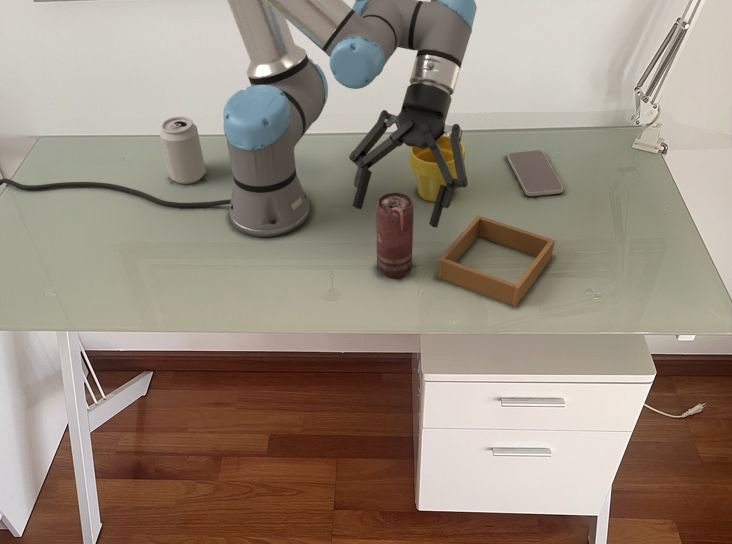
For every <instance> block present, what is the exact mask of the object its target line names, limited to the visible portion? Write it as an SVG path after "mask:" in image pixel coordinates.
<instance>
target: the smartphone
mask: <svg viewBox="0 0 732 544" xmlns="http://www.w3.org/2000/svg"><path fill="white" fill-rule="evenodd" d="M506 158H507V161H508V162H509V163H508V164H509V165H510V167H511V169H512V170H513V173H514V174H515V177H516V178H517V181H518V182H519V184H520V187H521V188H522V190H523V193H524V194H525V195H526V196H529V197H537V196H546V195H556V194H561V193H562V192H563V190H564V186H563V184H562V182H561V180H560V178H559V177H558V176H557V174H556V172H555V170H554V168H553V167H552V165H551V163H550V162H549V159H548V158H547V156H546V155H545V152H544V151H543V150H540V149H533V150H532V149H531V150H522V151H511V152H508V154H507V157H506Z"/></svg>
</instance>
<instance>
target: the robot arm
mask: <svg viewBox="0 0 732 544" xmlns="http://www.w3.org/2000/svg"><path fill="white" fill-rule="evenodd" d="M226 1H227V4H228V6H229V9H230V11H231V14H232V17H233V19H234V21H235V24H236V27H237V29H238V32H239V35H240V38H241V40H242V42H243V45H244V47H245V50H246V53H247V56H248V58H249V61H250V62H249V65H248V67H247V70H246V76H247V79H248V80H249V83H250V86H247V87H246V89H240V90H238V91H236V92H234V94H232V95H231V96H230V97H229V98H228V99H227V101H226V102H225V105H224V108H223V113H222V117H223V133H224V135H225V138H226V145H227V149H228V155H229V159H230V160H229V161H230V166H231V172H232V177H233V186H232V187H233V188H232V192H231V197H230V199H220V200H214V201H202V202H201V201H199V202H198V201H197V202H176V201H167V200H163V199H160V198H157V197H155V196H152V195H151V194H148V193H146V192H143V191H141V190H137V189H135V188H130V187H127V186H122V185H119V184H115V183H109V182H108V183H107V182H99V181H98V182H97V181H65V182H53V183H45V184H31V185H30V184H29V185H28V184H22V183H19V182H17V181H15V180H12V179H9V178H0V186H2V185H3V184H8V185H10V186H13V187H15V188H17V189H21V190H27V191H36V190H37V191H38V190H47V189H54V188H55V189H56V188H68V187H69V188H71V187H91V188H92V187H94V188H105V189H111V190H117V191H121V192H125V193H128V194H130V195H131V194H132V195H134V196H139V197H142V198H143V199H146V200H147V201H150V202H152V203H155V204H157V205H161V206H166V207H172V208H207V207H208V208H209V207H217V206H224V205H225V206H226V205H229V216H230V221H231V223H232V225H233V226H234V228H236V229H237V230H238V231H239V232H241V233H243V234H246V235H248V236H253V237H258V238H272V237H278V236H283V235H286V234H288V233H291V232H293V231H295V230H297V229H298V228H300V227H301V226H303V224H304V223H306V221H307V220H308V218H309V216H310V201H309V198H308V195H307V193H306V191H305V190H304V189H303V185H302V183H301V181H300V179H299V177H298V175H297V167H296V157H295V149H296V145H297V144H298V143H299V142H300V141H301V139H302V138H303V137H304V135H305V134H306V133H307V131H308V130H309V129H310V128H311V126H312V125H313V124H314V123H315V122H316V121H317V120H318V119H319V117H320V116H321V114H322V112H323V110H324V108H325V106H326V104H327V101H328V97H329V86H328V85H329V84H328V81H327V78H326V75H325V72H324V71H323V69H322V68H321V66H319V64H318V63H317V64H316V63H315V62H314V60H313V59H311V58H310V57H309V56H308V54H307V51H306V49H305V48H304V47H301V46H299V45H297V44H295V41H294V37H293V35H292V32H291V29H290V26H289V24H288V22H289V23H291V25H293V27H295V28H296V29H297V30H298V31H299V32H301V33H302V34H303V35H304V36H305V37H306V38H308V39H309V40H310V41H311V42H312V43H313V44H315V46H316V47H318V48H319V49H320V50H321V51H322V52H324V53H325V54H326V55H327V57H329V68H330V71H331V74H332V75H333V77H334V80H336V81H337V82H338V83H339V84H340V85H342V86H343V87H345V88H348V89H351V90H360V89H364V88H366V87H367V86H369V85H370V84H371V83H372V82H373V81H374V80H375V79H376V78H377V77H378V76H380V74H381V73H382V72H383V70H384V67H385V66H386V64H387V63H388V61H389V60H390V58H391V57H392V56H393V55H394V53H395V52H396V50H397V49H398V48H400V49H405V50H410V51H417V52H416V56H415V58H414V63H413V66H412V70H411V74H410V78H409V81H408V82H409V85H408V86H407V87H406V91H405V94H404V98H403V102H402V105H401V109H400V112H399V114H398V115H395V114H392V113H389V112H388V110H386V109H383V110H381V112H380V114H379V116H378V119H377V121H376V123H375V124H374V125H373V126H372V128H371V129H370V130H369V131H368V133H366V135H365V136H364V137H363V138H362V140H360V142H359V143H358V144H357V146H356V147H355V148H354V150H353V151H352V152H351V153H350V154H349V160H350V161H351V162H352V163H353V164H354V165H356V167H357V169H356V173H355V176H354V180H353V186H354V187H355V188H356V191H355V193H354V199H353V202H352V207H354V208H355V209H357V210H362V209H363V206H364V202H365V198H366V195H367V191H368V189H369V185H370V181H371V177H372V173H373V172H372V171H371V169H370V168H371V167H373V166H374V165H376V164H377V163H378V162H379V161H381V160H382V159H383V158H385V157H386V156H388V154H390V153H391V152H392V151H394V150H395V149H397V148H398V147H401V146H402V145H403V144H405V145H406V146H407V147H414V146H417V147H419V148H420V149H425V148H428V147H429V148H430V150H431V152H432V154H433V156H434V158H435V160H436V163H437V165H438V167H439V169H440V171H441V174H442V176H443V178H444V180H445V183H446V186H445V185H441V184H440V188H439V191H438V195H437V198H436V202H434V205H433V208H432V212H431V215H430V219H429V226H431V227H432V228H434V229H435V228H438V226H439V223H440V219H441V217H442V216H441V215H442V213H443V208H444V209H448V208H449V207H450V206H451V202H452V199H453V196H454V192H455V191H456V189H460V188H462V189H464V188H467V187H468V185H469V182H468V181H469V180H468V175H467V171H466V165H465V161H464V159H463V154H462V148H461V142H462V137H463V129H462V128H461V126H460V125H459V124H458V123H454V124H453V125H447V124H446V120H447V117H448V113H449V111H450V107H451V103H452V101H453V100H452V95H454V92H455V89H456V87H457V82H458V78H459V75H460V72H461V67H462V64H463V61H464V57H465V55H466V52H467V47H468V45H469V42H470V38H471V35H472V33H473V27H474V21H475V18H476V12H477V9H478V8H477V6H478V5H477V3H476V0H430V1H426V0H424V1H422V0H355V1H354V3H353V5H352V7H351V6H349V5H348V4H347V2H345V1H344V0H226ZM394 124H395V126H396V128H397V129H396V130H394V131H393V132H391V134H389V136H388V137H387V138H386V139H385V140H384V141H383V142H381V143H380V144H378V145H377V146H376V147H374V146H375V145H376V144H377V143H378V142H379V140H380V139H381V138H382V137H383V136H384V134H385V133H386V132H387V131H388V128H391V127H392V126H393V125H394ZM445 134H446V135H447V137H448V138H449V139H450V140H451V146H452V152H453V158H454V163H455V169H456V174H457V178H456V179H453V177H452V174H451V172H450V170H449V168H448V166H447V163H446V161H445V159H444V157H443V155H442V152H441V150H440V147H439V145H438V143H437V140H438V139H439V138H440V137H441V136H442V135H445Z"/></svg>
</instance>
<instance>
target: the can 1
mask: <svg viewBox="0 0 732 544" xmlns="http://www.w3.org/2000/svg"><path fill="white" fill-rule="evenodd" d="M160 127H161V129H160V131H159V139H160V143H161V146H162V150H163V154H164V158H165V162H166V163H165V164H166V167H167V172H168V175H169V178H170V179H171V180H172V181H174V182H176V183H178V184H181V185H191V184H193V183H196V182H198V181H200V180H201V179H202V178H203V176H204V175H205V174H206V172H207V169H206V165H205V159H204V155H203V150H202V145H201V140H200V135H199V130H198V126H197V125H196V124H195V123H194V122H193V120H192V118H190V117H187V116H173V117H170V118H168V119H166V120H164V121H163V122H162V123H161V125H160Z"/></svg>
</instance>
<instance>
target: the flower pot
mask: <svg viewBox="0 0 732 544" xmlns="http://www.w3.org/2000/svg"><path fill="white" fill-rule="evenodd" d="M437 143H438V145H439V147H440V150H441V152H442V155H443V157H444V159H445V161H446V163H447V166H448V168H449V170H450V172H451V174H452V177H453V179H456V178H457V174H456V169H455V163H454V158H453V152H452V146H451V140H450V139H449V138H448V137H447V134H444V135H442V136H441V137H440V138H439V139H438V140H437ZM409 147H410V148H409V166H410V169H411V170H412V171H413V175H414V179H415V184H416V188H417V193H418V195H419V196H420V197H421V198H422V199H423V200H426V201H429V202H433V203H435V202H436V198H437V195H438V191H439V188H440V184H441V185H445V186H446V183H445V180H444V178H443V176H442V174H441V171H440V169H439V167H438V165H437V163H436V160H435V158H434V156H433V154H432V152H431V150H430V148H429V147H428V148H425V149H420V148H419V147H417V146H414V147H411V146H409ZM461 148H462V154H463V159H464V162H465V161H466V160H465V159H466V147H465V144H464V143H463V142H462V141H461Z"/></svg>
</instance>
